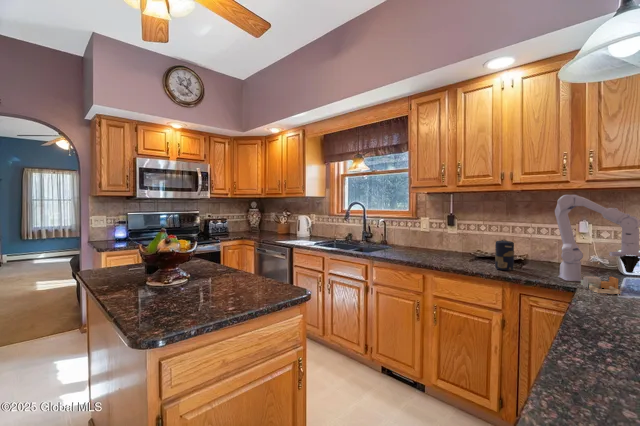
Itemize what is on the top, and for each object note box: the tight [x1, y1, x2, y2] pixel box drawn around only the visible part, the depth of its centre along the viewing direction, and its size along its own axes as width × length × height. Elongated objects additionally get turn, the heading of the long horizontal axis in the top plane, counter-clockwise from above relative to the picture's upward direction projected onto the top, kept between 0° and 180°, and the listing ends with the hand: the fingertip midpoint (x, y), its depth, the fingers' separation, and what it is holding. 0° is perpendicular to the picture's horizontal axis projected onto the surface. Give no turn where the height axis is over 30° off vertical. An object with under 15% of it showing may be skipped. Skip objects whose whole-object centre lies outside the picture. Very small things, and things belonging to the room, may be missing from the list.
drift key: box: [601, 276, 619, 289], centre depth 144 cm, size 4×6×5 cm
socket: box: [580, 279, 598, 288], centre depth 146 cm, size 9×2×3 cm, turn 165°
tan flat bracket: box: [588, 285, 621, 295], centre depth 138 cm, size 6×8×2 cm
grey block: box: [582, 275, 602, 289], centre depth 146 cm, size 4×5×5 cm
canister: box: [494, 239, 515, 271], centre depth 184 cm, size 10×10×18 cm
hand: (629, 272), depth 142 cm, fingers closed
